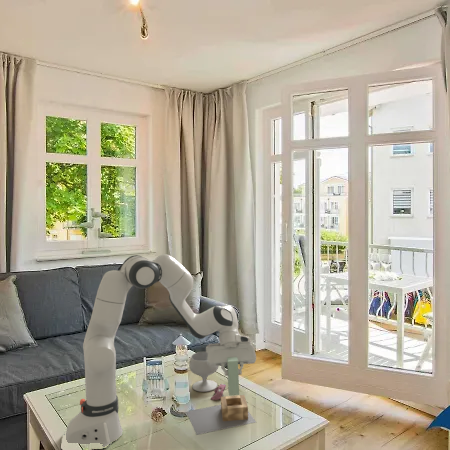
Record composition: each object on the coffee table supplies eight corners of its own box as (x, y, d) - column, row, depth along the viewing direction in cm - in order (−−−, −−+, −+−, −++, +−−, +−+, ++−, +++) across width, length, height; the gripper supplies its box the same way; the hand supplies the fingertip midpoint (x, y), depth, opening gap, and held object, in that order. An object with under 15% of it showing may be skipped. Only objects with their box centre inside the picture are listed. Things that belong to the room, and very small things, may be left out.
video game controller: (218, 407, 178) (224, 393, 177) (209, 401, 179) (215, 388, 178) (222, 396, 188) (228, 383, 187) (213, 391, 188) (220, 378, 187)
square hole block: (223, 421, 161) (222, 408, 160) (221, 408, 171) (220, 396, 170) (248, 419, 162) (247, 407, 161) (244, 406, 172) (244, 395, 171)
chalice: (219, 393, 187) (218, 361, 186) (188, 394, 187) (187, 362, 187) (219, 379, 201) (218, 350, 200) (191, 380, 201) (190, 350, 201)
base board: (196, 438, 152) (196, 434, 152) (186, 414, 169) (186, 411, 169) (256, 425, 159) (256, 421, 159) (240, 404, 177) (240, 400, 176)
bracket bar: (229, 395, 163) (228, 361, 163) (228, 390, 167) (227, 357, 167) (239, 394, 164) (237, 360, 163) (238, 390, 168) (236, 356, 167)
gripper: (205, 340, 170) (207, 373, 161) (254, 337, 172) (258, 369, 163) (205, 347, 175) (207, 379, 166) (252, 344, 177) (257, 375, 168)
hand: (233, 374), depth 164 cm, fingers closed on bracket bar, 4 cm apart
